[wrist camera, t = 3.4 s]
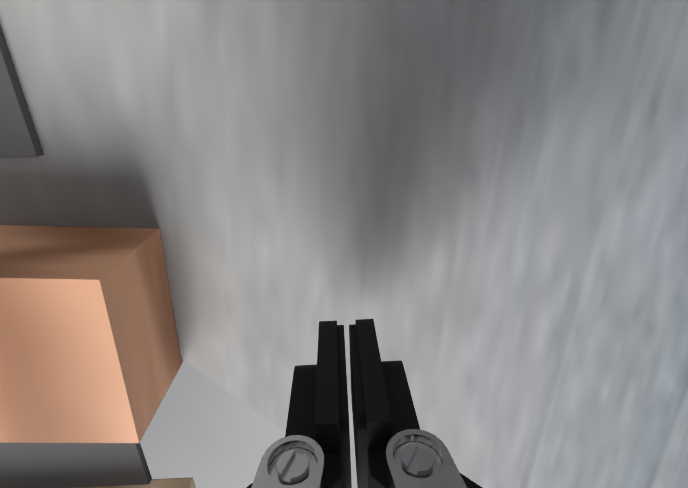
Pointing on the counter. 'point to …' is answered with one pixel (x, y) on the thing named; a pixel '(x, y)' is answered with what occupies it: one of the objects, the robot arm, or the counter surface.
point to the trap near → (14, 113)
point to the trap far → (72, 465)
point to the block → (83, 333)
